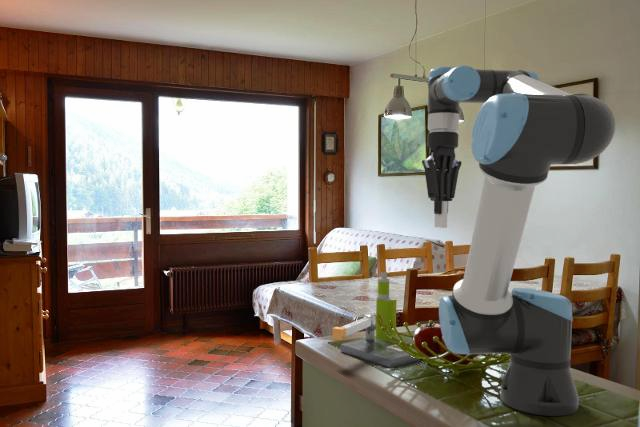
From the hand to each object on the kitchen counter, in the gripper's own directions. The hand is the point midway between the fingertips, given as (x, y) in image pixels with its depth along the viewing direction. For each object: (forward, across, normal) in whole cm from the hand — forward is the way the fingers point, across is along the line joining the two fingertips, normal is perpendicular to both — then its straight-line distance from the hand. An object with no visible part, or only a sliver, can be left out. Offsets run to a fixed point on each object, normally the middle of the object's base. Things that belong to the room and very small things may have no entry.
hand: (440, 227), depth 146 cm
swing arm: (+29, +11, -19) cm, 36 cm away
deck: (+34, +6, -14) cm, 38 cm away
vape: (+35, -5, -22) cm, 41 cm away
